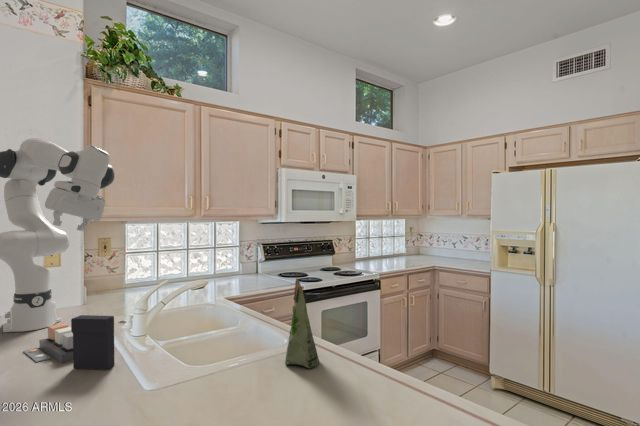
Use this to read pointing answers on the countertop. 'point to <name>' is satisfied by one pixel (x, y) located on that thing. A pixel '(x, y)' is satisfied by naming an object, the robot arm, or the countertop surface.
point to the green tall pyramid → (301, 334)
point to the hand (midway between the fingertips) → (68, 228)
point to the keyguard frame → (56, 350)
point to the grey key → (67, 340)
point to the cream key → (59, 334)
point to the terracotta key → (55, 327)
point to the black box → (93, 342)
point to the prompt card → (36, 355)
